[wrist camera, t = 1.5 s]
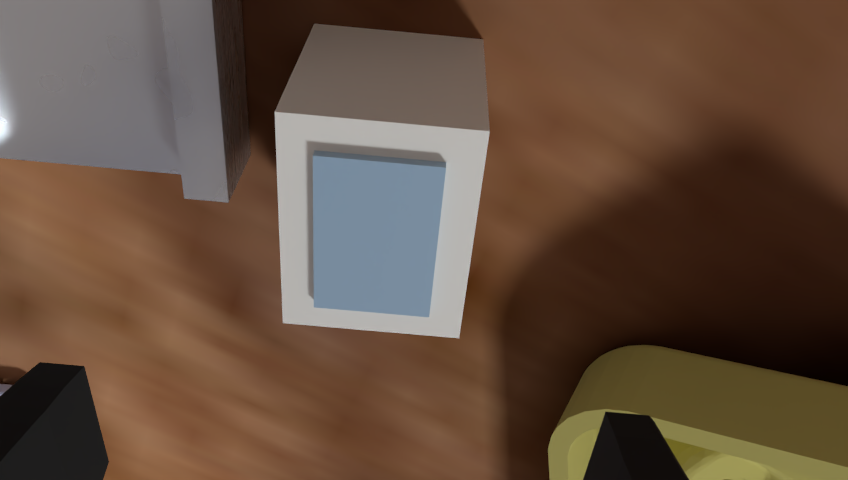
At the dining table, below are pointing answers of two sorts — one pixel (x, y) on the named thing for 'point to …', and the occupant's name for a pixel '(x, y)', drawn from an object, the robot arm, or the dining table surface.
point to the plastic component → (709, 416)
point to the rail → (127, 87)
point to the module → (380, 179)
